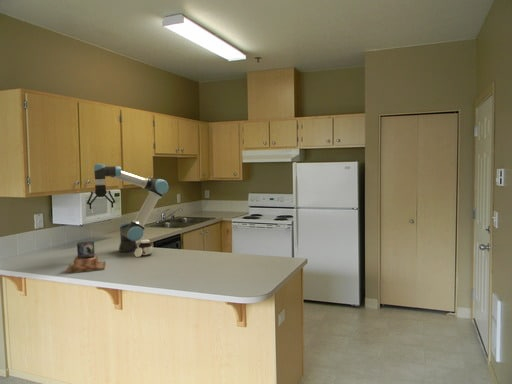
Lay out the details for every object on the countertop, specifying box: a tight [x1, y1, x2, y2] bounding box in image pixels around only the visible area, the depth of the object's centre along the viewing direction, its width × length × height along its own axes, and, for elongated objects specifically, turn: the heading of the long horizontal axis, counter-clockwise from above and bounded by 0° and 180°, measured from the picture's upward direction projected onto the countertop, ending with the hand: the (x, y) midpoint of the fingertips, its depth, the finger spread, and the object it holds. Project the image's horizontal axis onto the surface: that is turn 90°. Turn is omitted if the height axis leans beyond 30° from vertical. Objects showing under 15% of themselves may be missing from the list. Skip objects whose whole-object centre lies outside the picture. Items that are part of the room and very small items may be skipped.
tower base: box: [65, 253, 107, 274], centre depth 289 cm, size 24×19×8 cm
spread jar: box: [134, 239, 153, 258], centre depth 323 cm, size 12×11×12 cm
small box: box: [76, 240, 95, 259], centre depth 288 cm, size 11×6×10 cm, turn 106°
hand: (101, 212), depth 316 cm, fingers open, 13 cm apart
